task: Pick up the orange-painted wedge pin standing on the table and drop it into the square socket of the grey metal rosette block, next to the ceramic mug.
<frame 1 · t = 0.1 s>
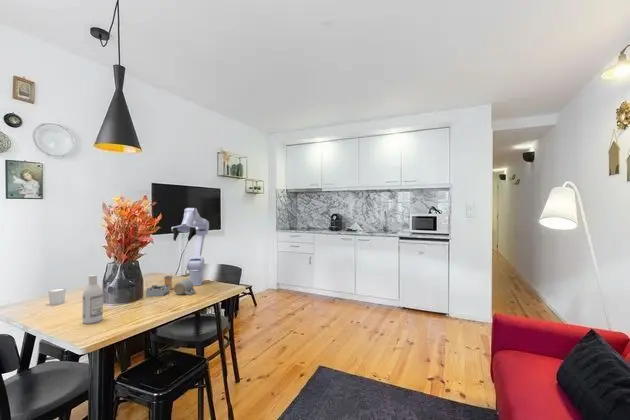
hand: (181, 239, 162), 32 cm above the table, tool tilted 50°, fingers open, 7 cm apart
white ribbed cup: (57, 303, 150), on the table
ceramic mug: (185, 293, 169), on the table
rosette block: (157, 293, 168), on the table
bath foam: (92, 321, 127), on the table
wedge pin: (168, 289, 177), on the table
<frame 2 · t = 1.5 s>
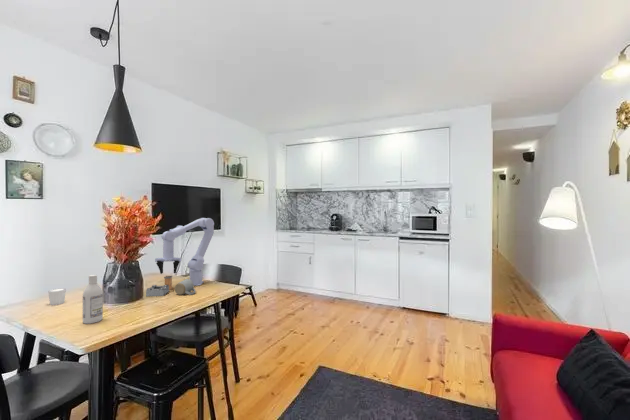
hand: (168, 273, 177), 10 cm above the table, tool pointing down, fingers open, 7 cm apart
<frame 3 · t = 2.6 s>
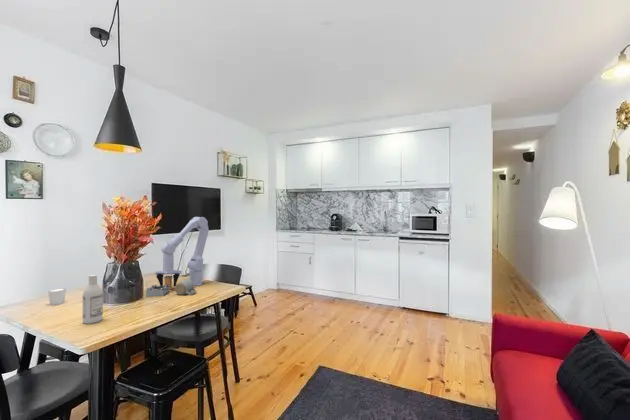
hand: (168, 286, 177), 2 cm above the table, tool pointing down, fingers open, 7 cm apart
nothing on the table moved.
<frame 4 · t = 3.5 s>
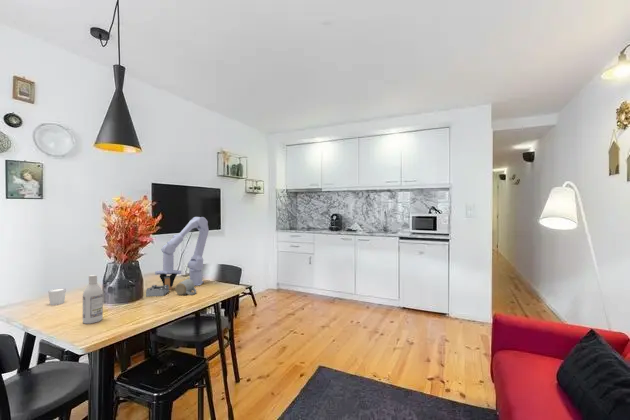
hand: (168, 286, 177), 2 cm above the table, tool pointing down, fingers closed on wedge pin, 3 cm apart
wedge pin: (168, 289, 177), on the table, touching gripper
everything else where it was.
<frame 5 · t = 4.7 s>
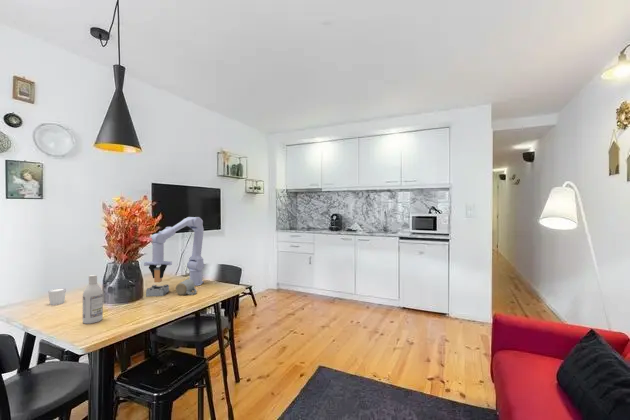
hand: (157, 277, 168), 9 cm above the table, tool pointing down, fingers closed on wedge pin, 3 cm apart
wedge pin: (158, 281, 168), point 7 cm above the table, touching gripper
when the fingers open (4 cm above the table, at t = 6.4 s): wedge pin drops 2 cm, resting in rosette block.
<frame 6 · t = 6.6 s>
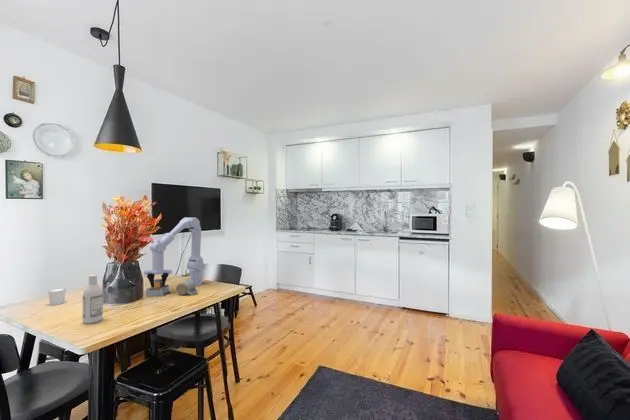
hand: (157, 286, 168), 4 cm above the table, tool pointing down, fingers open, 5 cm apart
wedge pin: (158, 293, 168), resting in rosette block
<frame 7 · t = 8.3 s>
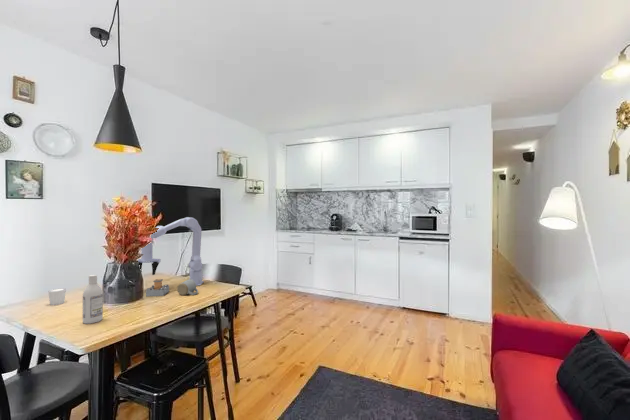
hand: (146, 274, 173), 10 cm above the table, tool pointing down, fingers open, 7 cm apart
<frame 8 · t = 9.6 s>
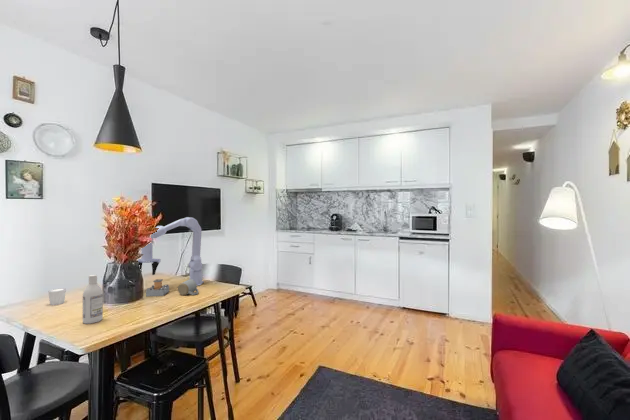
hand: (146, 274, 173), 10 cm above the table, tool pointing down, fingers open, 7 cm apart
at the end: wedge pin 0.3 cm off-centre on the rosette block, point 0.0 cm above the rosette block's base; wedge pin tilted 0°; the gripper is holding nothing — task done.
